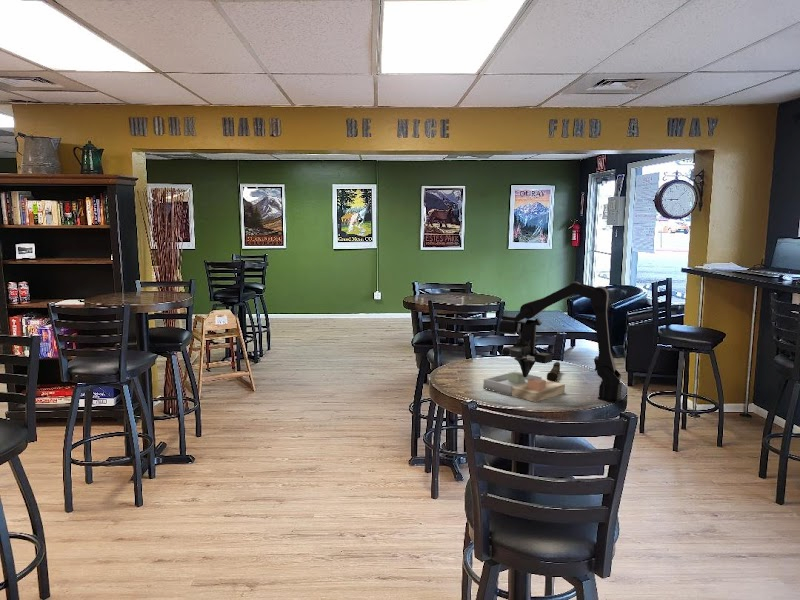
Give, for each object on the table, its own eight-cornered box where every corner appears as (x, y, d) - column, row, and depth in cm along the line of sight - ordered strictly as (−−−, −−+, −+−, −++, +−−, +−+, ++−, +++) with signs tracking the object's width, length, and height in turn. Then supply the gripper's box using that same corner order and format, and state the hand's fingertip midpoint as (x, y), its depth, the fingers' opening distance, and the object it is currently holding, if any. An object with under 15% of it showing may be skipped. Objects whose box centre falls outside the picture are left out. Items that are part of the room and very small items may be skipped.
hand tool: (556, 382, 220) (557, 371, 219) (546, 381, 221) (547, 369, 221) (564, 372, 237) (565, 362, 236) (554, 371, 239) (555, 360, 238)
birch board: (564, 392, 205) (565, 384, 205) (535, 402, 192) (536, 393, 192) (540, 386, 212) (541, 378, 212) (511, 395, 199) (511, 387, 199)
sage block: (515, 371, 216) (514, 379, 217) (508, 373, 213) (508, 380, 213) (525, 373, 213) (524, 381, 213) (518, 375, 210) (518, 383, 210)
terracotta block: (545, 388, 198) (545, 380, 198) (538, 391, 195) (538, 382, 195) (534, 386, 201) (534, 378, 201) (527, 388, 198) (527, 380, 198)
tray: (541, 386, 213) (541, 377, 212) (510, 395, 199) (510, 386, 199) (514, 379, 221) (514, 371, 221) (483, 388, 208) (483, 379, 207)
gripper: (494, 334, 210) (491, 375, 212) (537, 342, 197) (534, 386, 198) (511, 331, 218) (509, 370, 219) (554, 339, 204) (551, 381, 206)
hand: (525, 377), depth 211 cm, fingers closed
